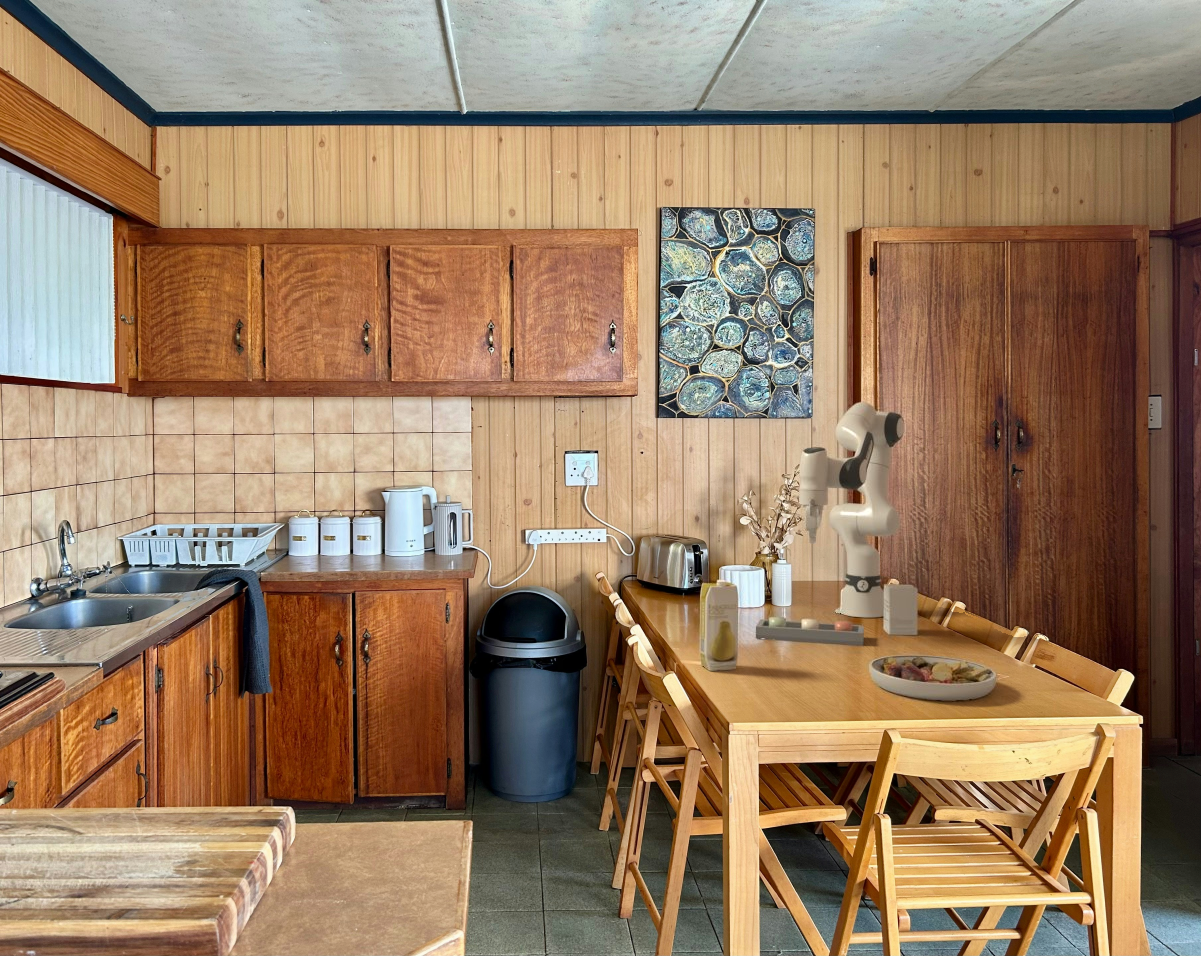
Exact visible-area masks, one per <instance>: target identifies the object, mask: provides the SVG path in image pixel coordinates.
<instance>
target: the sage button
mask: <svg viewBox="0 0 1201 956" xmlns="http://www.w3.org/2000/svg"><path fill="white" fill-rule="evenodd" d="M768 620H769V626H771V627H786V621H787V618H786V617H782V616H771V617H769V618H768Z"/></svg>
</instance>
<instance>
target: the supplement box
mask: <svg viewBox="0 0 1201 956" xmlns="http://www.w3.org/2000/svg"><path fill="white" fill-rule="evenodd" d="M883 591H884V616H883V630H884V631H885V632H886V633H887V634H888V635H891V636H917V635H918V601H919V600H918V597H919V596H918V591H919V589H918V587H915V586H914V585H912V584H894V583H893V584H891V583H890V584H889V583H888V584H886V583H884V584H883Z"/></svg>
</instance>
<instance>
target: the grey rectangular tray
mask: <svg viewBox="0 0 1201 956" xmlns="http://www.w3.org/2000/svg"><path fill="white" fill-rule="evenodd" d="M756 638H765V639H764V640H767V639H775V640H774V641H782V640H783V641H782V642H784V641H785V642H798V643H813V644H815V643H816V644H827V645H828V644H830V645H843V646H844V645H846V646H862V647H863V646H864V642H865V641H864V640H865V625H860V624H852V631H836V630H835V623H824V622H819V629H804V628H802V621H796V620H795V621H793V620H792V621H790V620H786V627H771V626H769V619H763V618H762V619H759V621H758V623H757V624H756V626H755V639H756Z"/></svg>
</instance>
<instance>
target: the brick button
mask: <svg viewBox="0 0 1201 956" xmlns="http://www.w3.org/2000/svg"><path fill="white" fill-rule="evenodd" d="M834 624H835V630H836V631H852V625H853V622H852V621H848V620H836V621H834Z"/></svg>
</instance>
